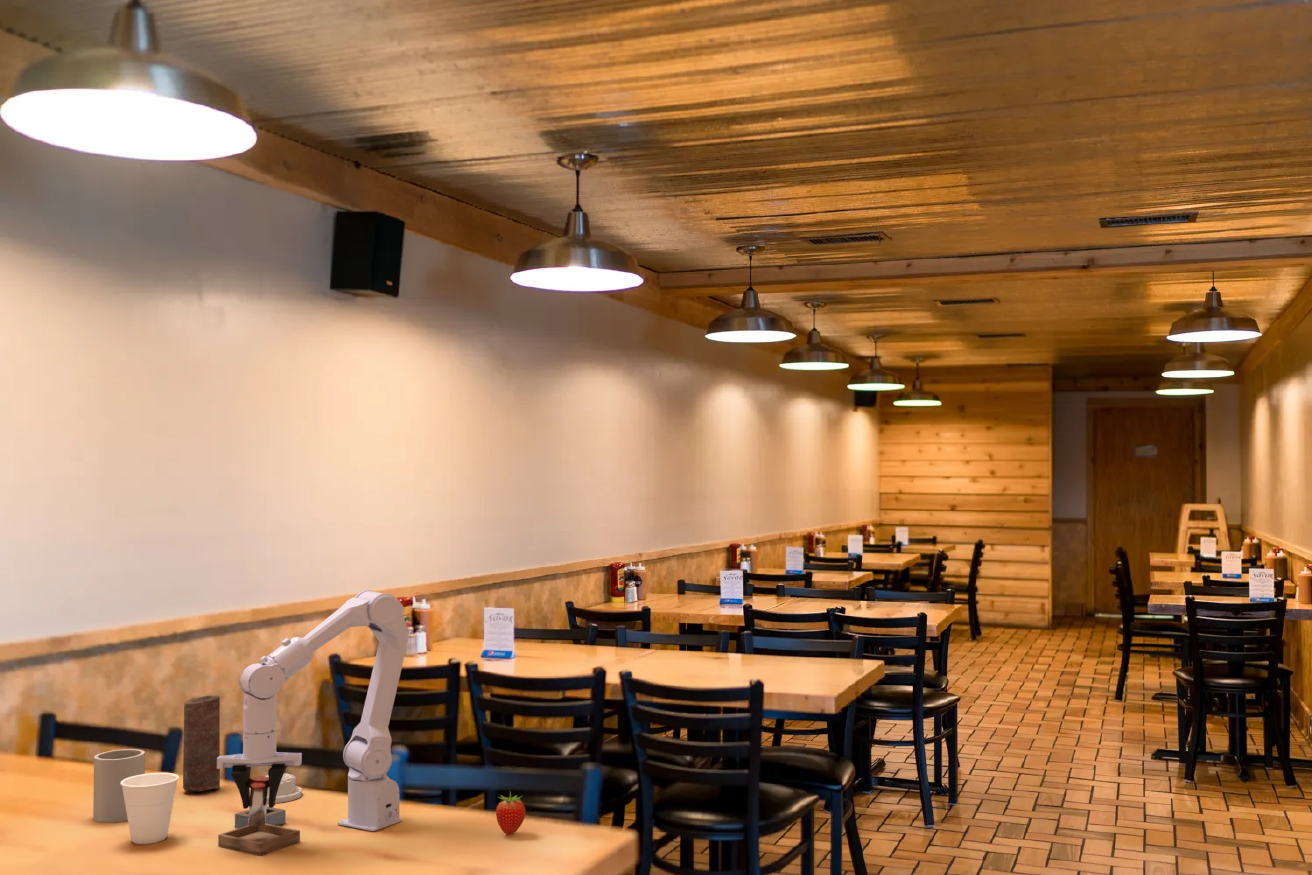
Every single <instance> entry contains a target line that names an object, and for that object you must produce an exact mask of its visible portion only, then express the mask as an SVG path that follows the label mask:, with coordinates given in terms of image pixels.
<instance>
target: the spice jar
mask: <svg viewBox="0 0 1312 875" xmlns="http://www.w3.org/2000/svg"><path fill="white" fill-rule="evenodd" d="M265 776H266V775H263V776H262V775H261V776H260V775H258V776H253V777H250V779H248V787H249V788H250V805H249V807H248V810H249V820H248V825H250V826H263V825H265V824H266V810H267V807H268V803H267V795H268V787H269V777H265Z"/></svg>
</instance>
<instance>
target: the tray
mask: <svg viewBox="0 0 1312 875" xmlns="http://www.w3.org/2000/svg"><path fill="white" fill-rule="evenodd" d="M217 840H218V841H217V843H218V844H217V846H218V847H219V848H220V847H221V848H224V849H229V850H233V851H239V852H243V853H245V854H246V853H247V854H252V855H257V856H263V855H266V854H268V853H271V852H274V851H277V850H280V849H283V848H286V847H288V846H291V845H294V844H296V843H300V842H301V830H300V829H294V828H290V827H284V826H281V825H279V826H276V825H271V824H265V825H263V826H250V825H247V826H244V827H241V828H235V829H232V830H229V831H225V832H223V833H220V834H218V839H217Z"/></svg>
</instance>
